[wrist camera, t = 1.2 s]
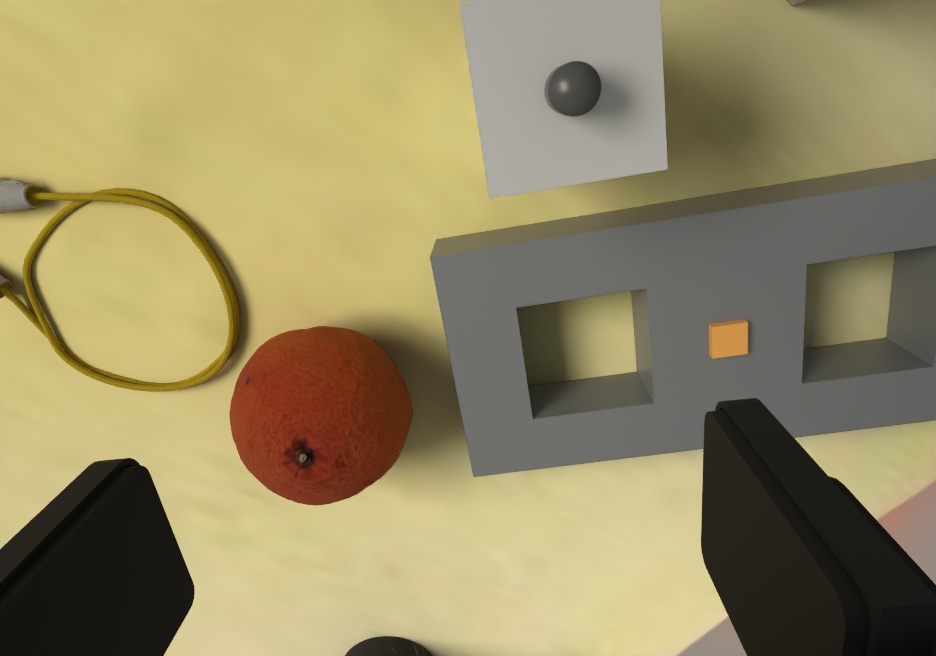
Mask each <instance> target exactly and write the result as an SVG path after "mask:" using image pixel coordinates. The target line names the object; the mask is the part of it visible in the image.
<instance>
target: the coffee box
mask: <svg viewBox="0 0 936 656" xmlns="http://www.w3.org/2000/svg"><path fill="white" fill-rule="evenodd" d="M787 1H788V3H789V4H790V5H792V6H794V5H797V4H800V3H803V2H806V1H809V0H787Z"/></svg>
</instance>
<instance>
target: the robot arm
mask: <svg viewBox="0 0 936 656" xmlns="http://www.w3.org/2000/svg"><path fill="white" fill-rule="evenodd" d="M701 548H702V555H703V559H704V563H705V566H706V568H707V571H708V573H709V575H710V577H711V579H712V581H713V583H714V586H715V588H716V590H717V592H718V594H719V596H720V598H721V601H722V603H723V605H724V607H725V609H726V611H727V614H728V616H729V618H730V620H731V622H732V624H733V626H734V628H735V631H736V633H737V635H738V637H739V639H740V641H741V643H742V646H743V648H744V650H745V652H746V654H747V656H936V585H935V584H934V583H933V581H932V580H930V578H929V577H928V576H927V575H926V574H925V573H924V572H923V571H922V570H921V568H920V567H919V566H918V565H917V564H916V563H915V562H914V561H913V560H912V559H911V558H910V557H909V555H908V554H907V553H906V552H905V551H904V550H903V549H902V548H901V547H900V545H899V544H898V543H897V542H896V541H895V540H894V539H893V538H892V537H891V536H890V535H889V533H888V532H887V531H886V530H885V529H884V528H883V527H882V526H881V525H880V524H879V523H878V521H877V520H876V519H875V518H874V517H873V516H872V515H871V514H870V513H869V512H868V511H867V509H866V508H865V507H864V506H863V505H862V504H861V503H860V502H859V501H858V500H857V499H856V497H855V496H854V495H853V494H852V493H851V492H850V491H849V490H848V489H847V488H846V487H845V485H843V484H842V483H841V482H840V481H839V480H837V479H835V478H832V477H828V476H827V474H826V473H825V472H824V471H823V470H822V469H821V468H820V467H819V465H818V464H817V463H816V462H815V461H814V460H813V459H812V458H811V457H810V455H809V454H808V453H807V452H806V451H805V450H804V449H803V448H802V446H801V445H800V444H799V443H798V442H797V441H796V440H795V439H794V438H793V436H792V435H791V434H790V433H789V432H788V431H787V430H786V429H785V427H784V426H783V425H782V424H781V423H780V422H779V421H778V420H777V419H776V417H775V416H774V415H773V414H772V413H771V412H770V411H769V410H768V409H767V407H766V406H765V405H764V404H763V403H762V402H761V401H760V400H759V399H757V398H749V399H739V400H728V401H719V402H718V403H717V405H716V408H715V411H709V412H707V413H706V415H705V420H704V454H703V492H702V531H701ZM193 600H194V585H193V581H192V579H191V576H190V574H189V571H188V569H187V566H186V564H185V561H184V559H183V556H182V554H181V551H180V549H179V546H178V544H177V541H176V538H175V536H174V533H173V531H172V528H171V526H170V523H169V521H168V518H167V516H166V513H165V511H164V508H163V506H162V503H161V501H160V498H159V495H158V493H157V490H156V488H155V485H154V483H153V480H152V478H151V475H150V473H149V471H148V469H147V468H145V467H144V466H140V465H139V463H138V462H137V461H136V460H134V459H131V458H126V459H115V460H105V461H97V462H94V463H93V464H91V465H90V466H88V467H87V468H86V469H85V470H84V471H83V472H82V473H81V474H80V475H79V476H78V477H77V478H76V479H75V480H74V481H72V482H71V483H70V484H69V485H68V486H67V487H66V488H65V489H64V490H63V491H62V492H61V493H60V494H59V495H58V496H56V497H55V498H54V499H53V500H52V501H51V502H50V503H49V504H48V505H47V506H46V507H45V508H44V509H43V510H42V511H41V512H39V513H38V514H37V515H36V516H35V517H34V518H33V519H32V520H31V521H30V522H29V523H28V524H27V525H26V526H25V527H24V528H22V529H21V530H20V531H19V532H18V533H17V534H16V535H15V536H14V537H13V538H12V539H11V540H10V541H9V542H8V543H6V544H5V545H4V546H3V547H2V548H1V549H0V656H163V655H164V654H165V652H166V650H167V648H168V647H169V645H170V643H171V641H172V640H173V638H174V636H175V634H176V633H177V631H178V629H179V627H180V626H181V624H182V622H183V620H184V619H185V617H186V615H187V614H188V612H189V610H190V608H191V606H192V603H193Z"/></svg>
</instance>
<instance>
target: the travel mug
mask: <svg viewBox="0 0 936 656" xmlns="http://www.w3.org/2000/svg"><path fill="white" fill-rule="evenodd" d="M345 656H432V655H431V654H430V653H429V652H428V651H427V650H426V649H424V648H423V647H422V646H420V645H418V644H416V643H414V642H412V641H409V640H406V639H402V638H397V637H376V638H371V639H368V640H365V641H362V642H360V643H358V644H357V645H355V646H354V647H352V648H351V649H350V650H349V651H348V652H347V654H346V655H345Z"/></svg>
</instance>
